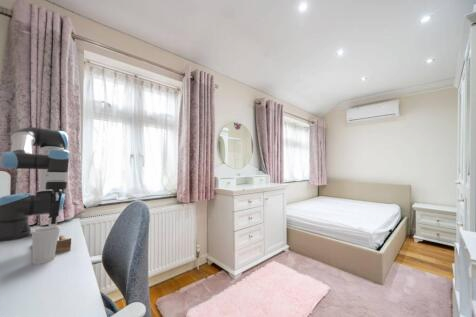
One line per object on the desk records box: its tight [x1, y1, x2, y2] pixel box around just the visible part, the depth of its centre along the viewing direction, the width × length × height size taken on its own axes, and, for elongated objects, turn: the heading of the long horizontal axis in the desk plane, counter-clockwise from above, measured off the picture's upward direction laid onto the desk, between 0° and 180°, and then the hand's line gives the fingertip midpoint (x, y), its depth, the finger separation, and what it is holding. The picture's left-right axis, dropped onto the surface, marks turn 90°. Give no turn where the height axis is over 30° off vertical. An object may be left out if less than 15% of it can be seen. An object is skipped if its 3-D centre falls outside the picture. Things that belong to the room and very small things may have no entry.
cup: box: [31, 226, 61, 265], centre depth 77 cm, size 8×8×12 cm
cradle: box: [55, 234, 72, 255], centre depth 91 cm, size 22×10×5 cm, turn 50°
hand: (52, 230), depth 92 cm, fingers closed
